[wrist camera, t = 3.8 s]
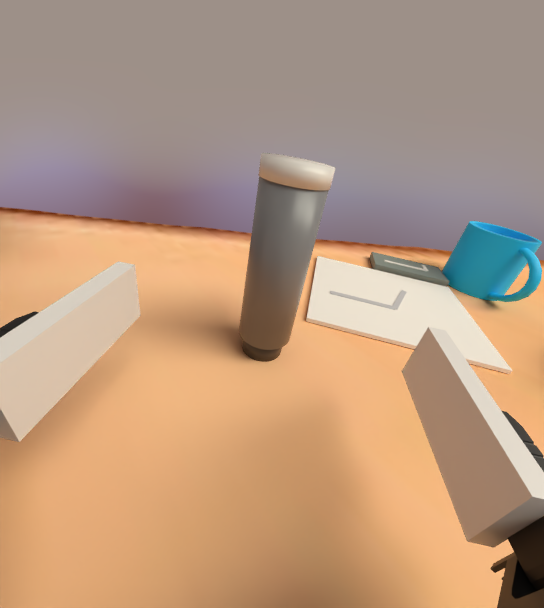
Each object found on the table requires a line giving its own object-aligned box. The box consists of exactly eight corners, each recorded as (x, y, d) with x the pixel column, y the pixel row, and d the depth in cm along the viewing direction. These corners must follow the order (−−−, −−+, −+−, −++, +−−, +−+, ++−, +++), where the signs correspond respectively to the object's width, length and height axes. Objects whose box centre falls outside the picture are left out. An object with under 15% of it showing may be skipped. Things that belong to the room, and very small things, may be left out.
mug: (429, 269, 43) (456, 217, 39) (475, 276, 44) (506, 226, 40) (482, 314, 33) (527, 250, 29) (540, 321, 34) (592, 260, 30)
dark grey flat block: (373, 270, 38) (375, 263, 38) (369, 257, 43) (372, 251, 42) (445, 288, 38) (449, 280, 37) (434, 273, 42) (438, 266, 41)
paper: (305, 321, 25) (307, 316, 25) (316, 258, 39) (317, 255, 38) (509, 374, 24) (513, 370, 23) (447, 289, 37) (448, 286, 37)
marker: (229, 357, 20) (252, 154, 13) (244, 326, 23) (270, 152, 16) (281, 371, 19) (335, 171, 12) (289, 338, 23) (335, 165, 16)
